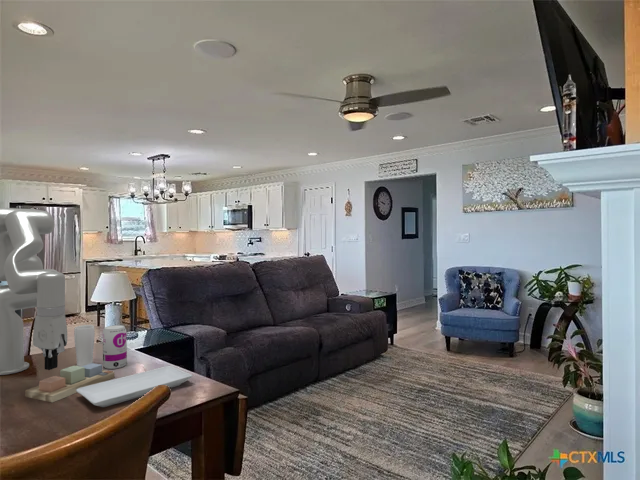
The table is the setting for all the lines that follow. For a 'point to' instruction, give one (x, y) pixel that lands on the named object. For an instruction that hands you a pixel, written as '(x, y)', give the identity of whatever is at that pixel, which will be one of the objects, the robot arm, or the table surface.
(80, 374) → the key sage
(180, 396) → the table surface
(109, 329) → the supplement can
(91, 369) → the key slate
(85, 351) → the drinking glass
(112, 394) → the tray
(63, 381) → the key terracotta
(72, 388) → the keypad base
